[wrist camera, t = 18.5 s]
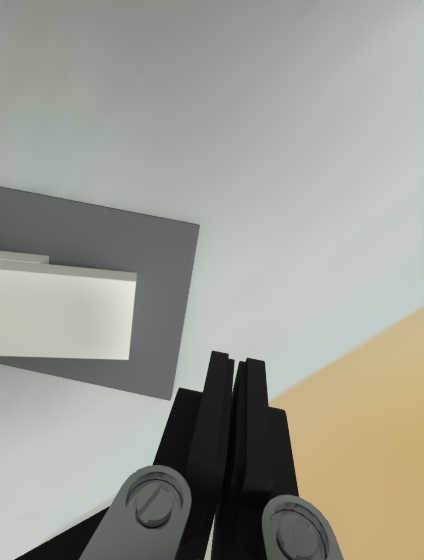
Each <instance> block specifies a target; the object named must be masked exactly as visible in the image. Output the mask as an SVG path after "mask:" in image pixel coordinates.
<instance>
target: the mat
mask: <svg viewBox="0 0 424 560" xmlns="http://www.w3.org/2000/svg"><path fill="white" fill-rule="evenodd" d="M199 227H200V225H197V224H192V223H187V222H182V221H177V220H171V219H166V218H161V217H156V216H151V215H145V214H140V213H135V212H130V211H125V210H119V209H114V208H109V207H104V206H99V205H93V204H88V203H83V202H78V201H73V200H67V199H62V198H57V197H52V196H47V195H41V194H36V193H31V192H26V191H21V190H15V189H10V188H5V187H0V251H8V252H17V253H27V254H36V255H46V256H49V264H51V265H62V266H72V267H82V268H93V269H103V270H113V271H124V272H134V273H137V278H136V288H135V298H134V309H133V319H132V330H131V340H130V350H129V360H117V359H84V358H52V357H19V356H0V364H3V365H8V366H12V367H17V368H21V369H26V370H31V371H35V372H40V373H44V374H49V375H54V376H58V377H63V378H67V379H72V380H77V381H81V382H86V383H91V384H95V385H100V386H104V387H109V388H114V389H118V390H123V391H127V392H132V393H137V394H141V395H146V396H151V397H155V398H160V399H164V400H169V401H170V400H171V397H172V392H173V386H174V379H175V373H176V367H177V361H178V355H179V349H180V343H181V337H182V331H183V325H184V318H185V312H186V306H187V300H188V294H189V288H190V282H191V276H192V270H193V264H194V258H195V251H196V245H197V239H198V233H199Z"/></svg>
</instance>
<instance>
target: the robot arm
mask: <svg viewBox="0 0 424 560" xmlns="http://www.w3.org/2000/svg"><path fill="white" fill-rule="evenodd" d="M228 356H229V354H227V353H222V352H217V351H212V353H211V358H210V362H209V367H208V371H207V376H206V381H205V385H204V390H203V392H198V391H193V390H189V389H184V388H179V389H178V392H177V394H176V397H175V400H174V403H173V406H172V409H171V412H170V415H169V418H168V421H167V424H166V427H165V430H164V433H163V436H162V439H161V442H160V445H159V448H158V451H157V454H156V457H155V460H154V462H153V465H152V466H147V467H144V468H141V469H139V470H137V471H136V472H135V473H133V474H132V475H130V476H129V478H128V479H127V480H126V481H125V483H124V484H123V485H122V487H121V489H120V490H119V492H118V494H117V495H116V497H115V499H114V501H113V502H112V504H111V506H109V507H107V508H106V509H104V510H102V511H100V512H99V513H97V514H95V515H93V516H91V517H90V518H88V519H86V520H84V521H82V522H81V523H79V524H77V525H75V526H73V527H72V528H70V529H69V530H66V531H65V532H63V533H61V534H59V535H57V536H56V537H54V538H52V539H50V540H49V541H47V542H45V543H43V544H41V545H40V546H38V547H36V548H34V549H33V550H31V551H29V552H27V553H25V554H24V555H22V556H20V557H18V558H17V559H15V560H204V557H205V553H206V549H207V545H208V540H209V536H210V531H211V528H212V524H213V519H214V515H215V521H214V530H213V540H212V551H211V560H344V559H343V556H342V554H341V551H340V548H339V545H338V543H337V540H336V537H335V535H334V532H333V530H332V528H331V526H330V524H329V523H328V521H327V520H326V518H325V517H324V516H323V515H322V513H321V512H320V511H319V510H318V509H317V508H315V507H314V506H313V505H312V504H311V503H309V502H307V501H305V500H304V499H302V498H300V497H299V494H298V487H297V481H296V475H295V468H294V461H293V456H292V449H291V442H290V436H289V429H288V423H287V416H286V412H285V411H284V410H282V409H278V408H272V407H268V395H267V383H266V371H265V362H264V361H261V360H256V359H251V358H247V359H246V362H243V361H240V362H239V365H238V370H237V374H236V379H235V383H234V388H233V392H232V386H233V374H234V362H235V360H233V359H228Z"/></svg>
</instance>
